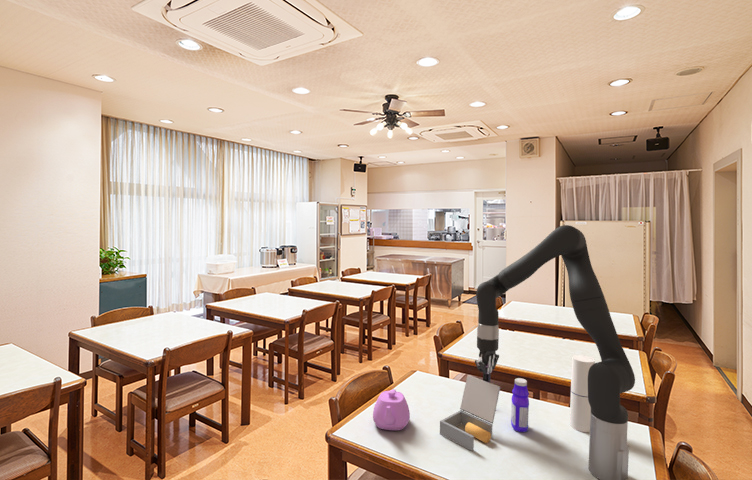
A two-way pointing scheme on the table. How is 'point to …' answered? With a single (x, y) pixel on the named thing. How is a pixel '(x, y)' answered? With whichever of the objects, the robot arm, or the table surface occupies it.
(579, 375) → the cylindrical container
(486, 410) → the cover
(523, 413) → the bottle
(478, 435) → the orange cylinder
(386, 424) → the teapot
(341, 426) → the table surface
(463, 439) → the hinged gray case
